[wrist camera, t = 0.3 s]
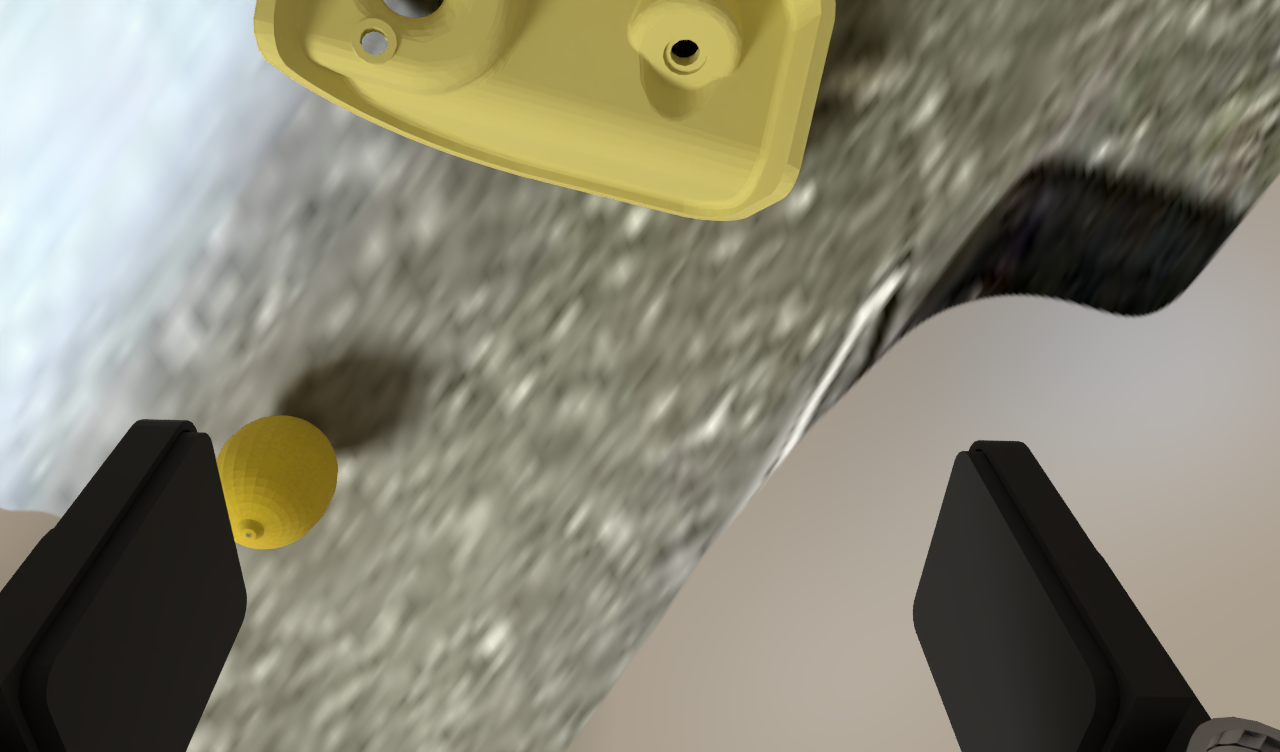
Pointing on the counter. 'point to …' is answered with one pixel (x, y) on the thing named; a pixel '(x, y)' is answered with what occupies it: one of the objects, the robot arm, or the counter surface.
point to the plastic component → (580, 89)
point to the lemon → (276, 480)
